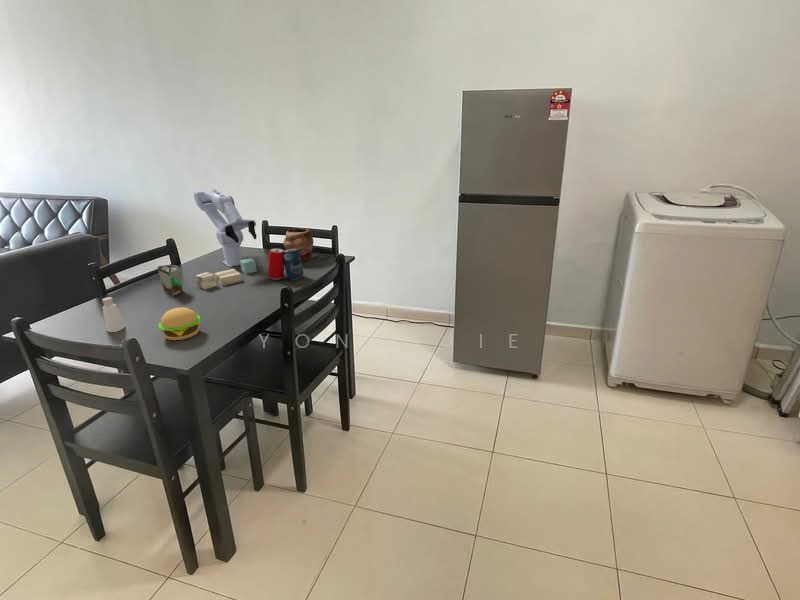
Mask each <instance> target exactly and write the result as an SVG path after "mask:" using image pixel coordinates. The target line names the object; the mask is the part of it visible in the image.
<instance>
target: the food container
mask: <svg viewBox="0 0 800 600" xmlns="http://www.w3.org/2000/svg"><path fill="white" fill-rule="evenodd" d="M157 272H158V275H159V278H160V282H161V285H162V286H161V287H162V288H163V292H165V293H166V292H167V293H166V294H168V293H169V294H168V295H170V296H171V295H172V296H171V297H173V298H175V297H177V296H180V295H182V293H183V292H184V291H183V284H182V278H181V277H182V276H181V275H182V273H183V272H182V269H181V268H180V266H178V265H175V264H164V265H158V266H157Z"/></svg>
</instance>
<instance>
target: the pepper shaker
mask: <svg viewBox="0 0 800 600" xmlns="http://www.w3.org/2000/svg"><path fill="white" fill-rule="evenodd" d="M101 301H102V304H103V306H102V314H103V319H104V325H105V331H106V332H107V331H109V332H113V331H118V330H121V329H123V328H124V327H125V328H126V325H125V322H124V319H123V318H122V315H121V313H120V311H119V309H118V306H117V303H114V300H113V297H111V296H109V297H108V296H107V297H104V298H102V300H101ZM109 332H108V333H109Z"/></svg>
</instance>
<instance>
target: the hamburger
mask: <svg viewBox="0 0 800 600" xmlns="http://www.w3.org/2000/svg"><path fill="white" fill-rule="evenodd" d="M201 324H202V323H201V316H200V315H199V314H197V313H196V312H195V311H194V310H193V309H191V308H190V307H189V308H188V307H184V306H183V307H176V308H175V307H174V308H172V309H169V310H167V311H166V312H165V313H164V314H162V317H161V318H160V322H159V323H158V328H159V329H160V332H161V333H163V336H164V337H165V338H166V339H167V340H169V341H171V340H174V342H176V341H175V340H181V341H184V340H183V339H186V340H188V339H187V338H189V339H191V338H193V337H195V336H196V335H197V334H198V333H199V331H200V326H201ZM194 335H195V336H194ZM192 336H193V337H192ZM190 337H191V338H190Z"/></svg>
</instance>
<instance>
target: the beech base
mask: <svg viewBox="0 0 800 600" xmlns="http://www.w3.org/2000/svg"><path fill="white" fill-rule="evenodd" d="M214 277H215V282H217V283H218V284H220V285H221V286H226V285H229V284H234V283H238V282H242V275H241V273H240V272H238V271H237V270H236V269H235V268H231V269H227V270H223V271H217V272H214Z"/></svg>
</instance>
